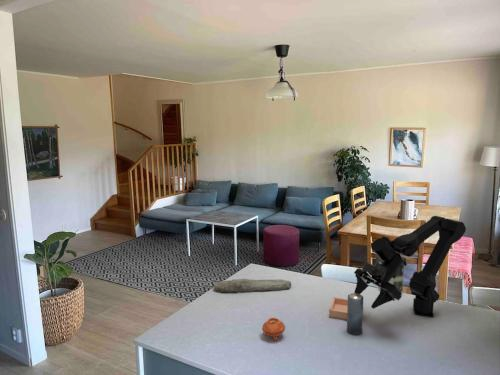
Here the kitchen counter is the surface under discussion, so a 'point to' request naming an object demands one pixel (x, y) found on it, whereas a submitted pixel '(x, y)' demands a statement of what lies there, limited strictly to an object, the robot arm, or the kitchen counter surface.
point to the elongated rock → (251, 285)
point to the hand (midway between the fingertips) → (362, 302)
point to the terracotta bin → (338, 308)
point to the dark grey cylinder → (355, 314)
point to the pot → (273, 327)
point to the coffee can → (398, 279)
